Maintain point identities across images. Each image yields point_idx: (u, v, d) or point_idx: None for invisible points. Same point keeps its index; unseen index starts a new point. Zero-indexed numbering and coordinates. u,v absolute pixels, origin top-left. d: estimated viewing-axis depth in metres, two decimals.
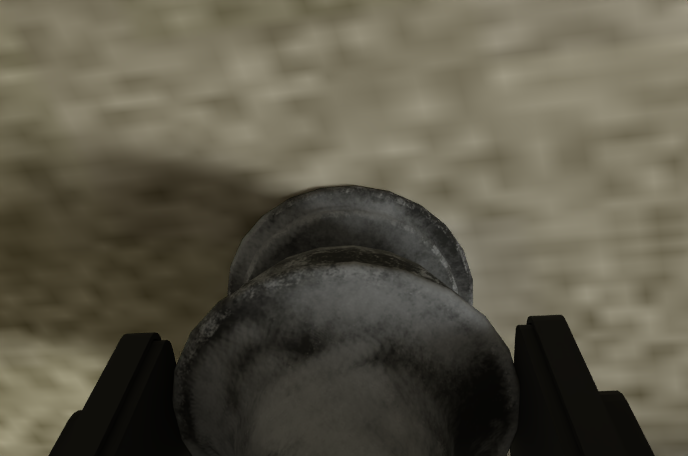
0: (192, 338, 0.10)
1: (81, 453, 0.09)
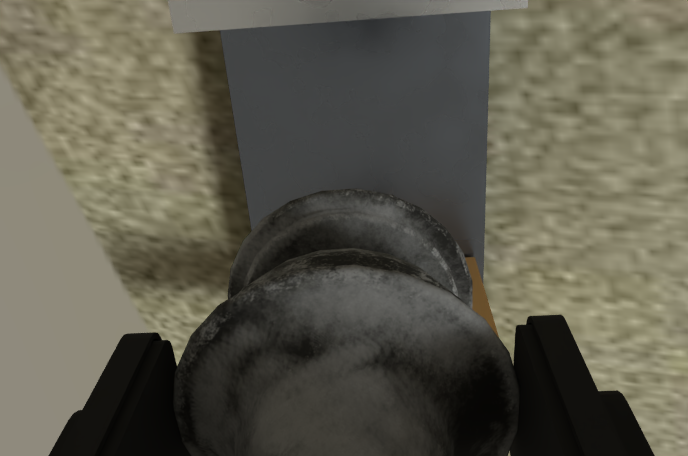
0: (192, 341, 0.10)
1: (81, 453, 0.09)
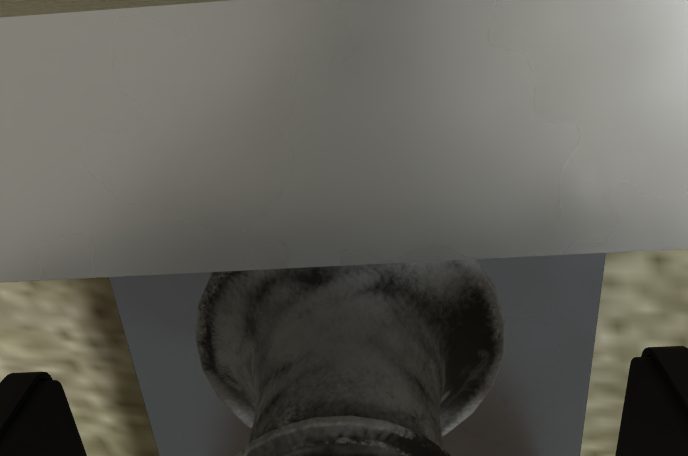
0: (215, 274, 0.12)
1: None
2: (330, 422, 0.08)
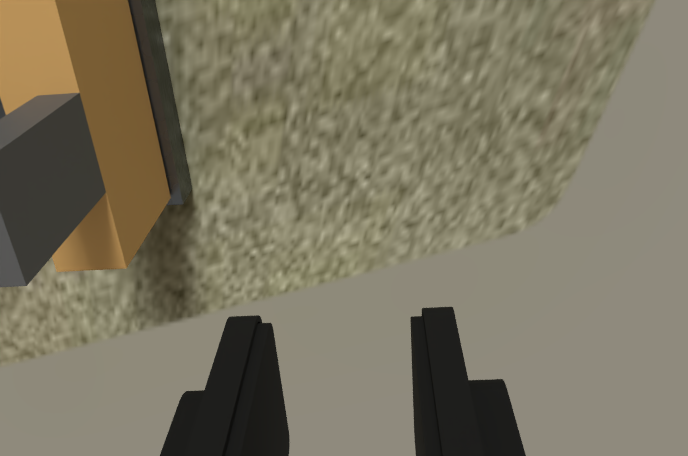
0: None
1: (214, 428, 0.09)
2: None
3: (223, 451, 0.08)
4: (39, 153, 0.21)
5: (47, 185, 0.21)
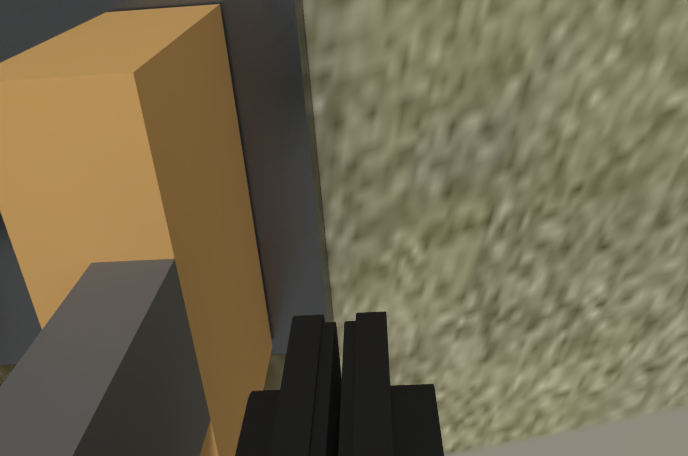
0: None
1: (296, 428, 0.09)
2: None
3: (308, 451, 0.08)
4: (114, 451, 0.09)
5: None
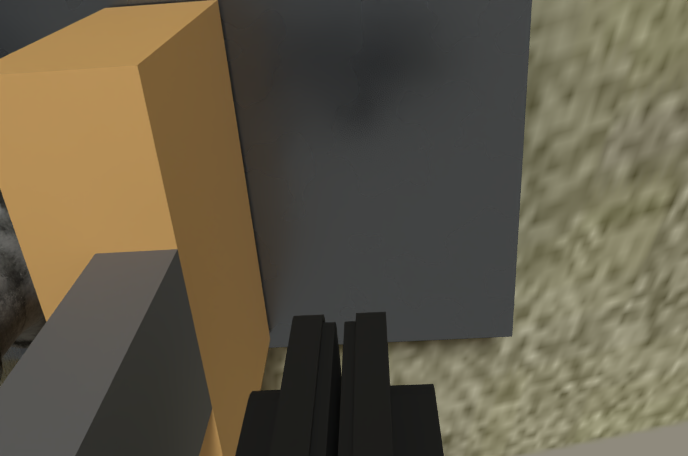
0: None
1: (296, 428, 0.09)
2: None
3: (309, 451, 0.08)
4: (123, 435, 0.09)
5: None
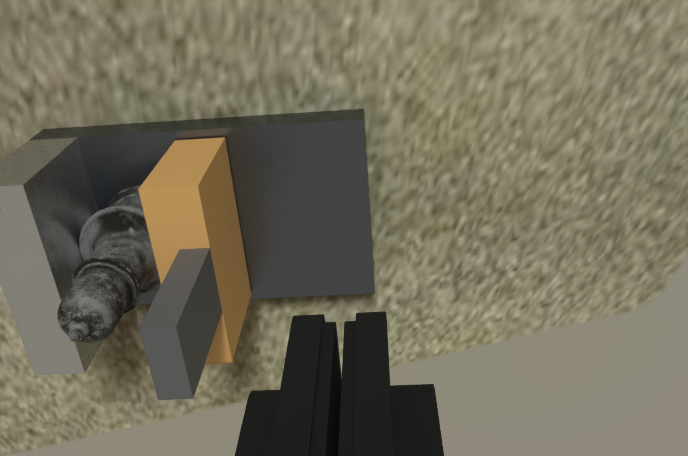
0: None
1: (296, 428, 0.09)
2: None
3: (308, 451, 0.08)
4: (195, 304, 0.31)
5: (199, 324, 0.31)
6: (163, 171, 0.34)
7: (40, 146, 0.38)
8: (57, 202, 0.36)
